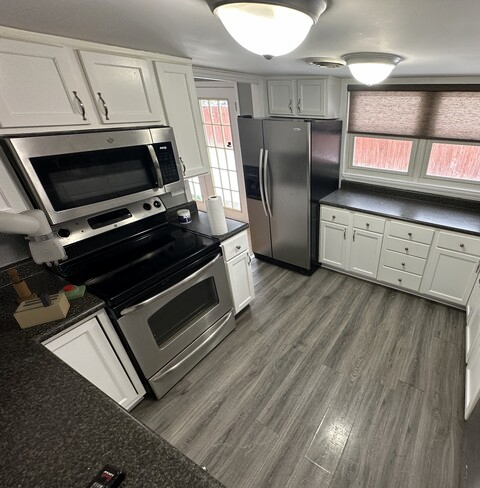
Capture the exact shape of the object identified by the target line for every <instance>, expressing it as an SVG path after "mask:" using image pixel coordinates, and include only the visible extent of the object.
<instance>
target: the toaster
mask: <svg viewBox="0 0 480 488" xmlns="http://www.w3.org/2000/svg"><path fill="white" fill-rule="evenodd" d="M48 296H49V298H50V300H51V302H52V303H51V305H50V306H48V307H44V306H43V304H42V302H41V300H40V297H38V298H37V299H33V300H28V301H24V302H21V304H19V305H18V307H17V308H16V310H15V312H14V313H13V317H14V318H15V319H16V322H17V323H18V325H19V326H20V328H21V329H22V330H24V329H27V328H31V327H34V326H35V327H36V326H39V325H42V324H46V323H51V322H55V321H58V320H61V319H65V318H66V317H67V315H68V312H69V310H70V307H71V304H70V303H69V300H67V298H66V296H65V294H64V293H60V294H58V293H56V294H51V295H48Z"/></svg>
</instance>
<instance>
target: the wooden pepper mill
mask: <svg viewBox="0 0 480 488" xmlns="http://www.w3.org/2000/svg"><path fill="white" fill-rule="evenodd" d="M6 274H8V276H11V280H12V281H13V282H12V283H11V285H12V286H13V288H14V290H15V291H16V293H17V295H18V297H17V298H16V302H17V304H18V305H20V304H21V302H24V301H28V300H33V299H37V298H39V296H38V295H37V294H36V293H35V292H31V291H30V289H29V287H28V284H27V283H26V281H25V279H20V276H19V275H18V270H17V269H15V268H10V269H8V270H7V272H6Z"/></svg>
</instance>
